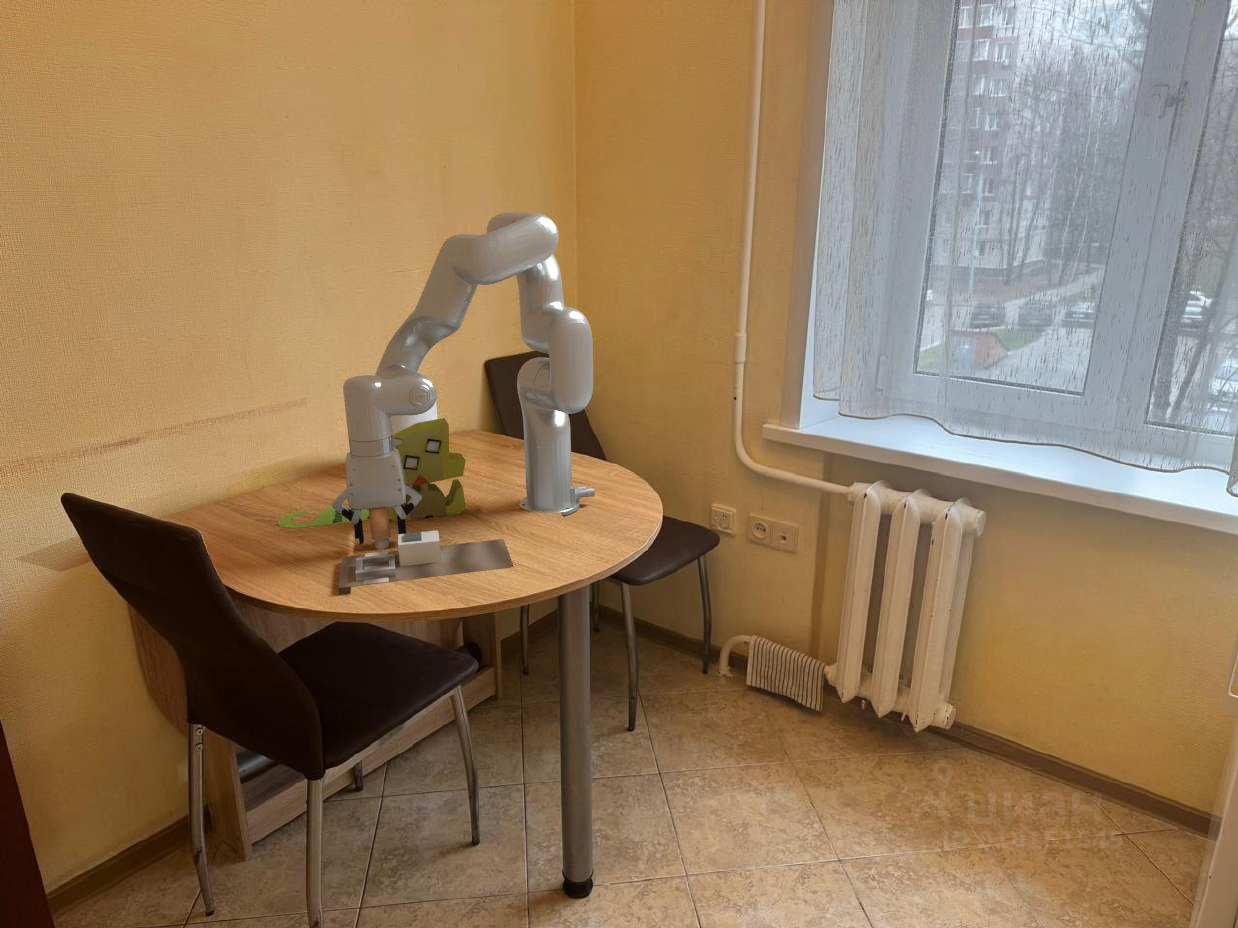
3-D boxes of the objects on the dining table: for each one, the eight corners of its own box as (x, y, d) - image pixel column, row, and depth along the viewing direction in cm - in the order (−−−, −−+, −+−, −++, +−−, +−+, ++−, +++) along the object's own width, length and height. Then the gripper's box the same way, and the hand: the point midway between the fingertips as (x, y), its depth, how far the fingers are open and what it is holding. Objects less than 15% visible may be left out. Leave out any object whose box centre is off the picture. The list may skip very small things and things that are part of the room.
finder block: (439, 550, 150) (437, 528, 149) (441, 561, 146) (439, 538, 144) (400, 555, 149) (397, 532, 147) (400, 566, 144) (398, 543, 143)
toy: (389, 529, 164) (380, 431, 158) (387, 519, 169) (377, 424, 163) (469, 518, 169) (463, 423, 163) (464, 508, 174) (458, 416, 168)
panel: (503, 544, 156) (503, 531, 155) (514, 573, 144) (513, 558, 143) (342, 562, 148) (340, 549, 148) (339, 594, 136) (337, 579, 136)
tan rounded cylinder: (392, 547, 155) (387, 502, 152) (392, 554, 152) (387, 508, 149) (373, 549, 154) (368, 504, 151) (373, 556, 151) (368, 510, 148)
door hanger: (403, 502, 179) (280, 515, 172) (403, 500, 179) (279, 513, 172) (405, 518, 170) (275, 532, 164) (405, 515, 170) (275, 530, 163)
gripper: (420, 436, 152) (428, 527, 158) (321, 444, 148) (333, 537, 153) (422, 447, 145) (430, 541, 151) (318, 456, 141) (330, 552, 147)
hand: (381, 538), depth 152 cm, fingers open, 6 cm apart
